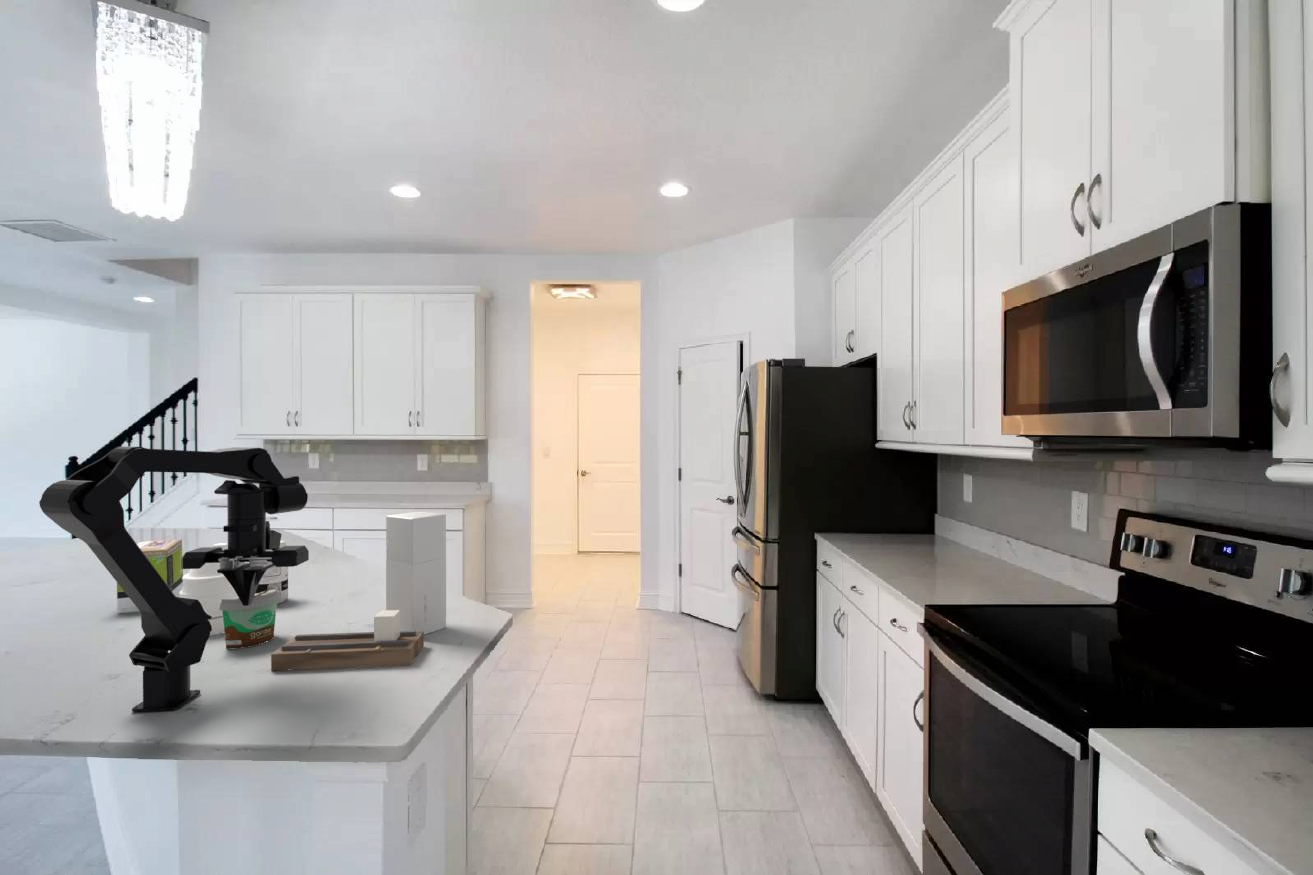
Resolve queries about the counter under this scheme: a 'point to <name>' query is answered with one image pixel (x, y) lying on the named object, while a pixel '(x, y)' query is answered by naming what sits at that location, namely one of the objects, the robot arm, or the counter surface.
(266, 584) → the supplement can
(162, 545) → the tea box
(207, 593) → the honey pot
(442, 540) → the tall white carton
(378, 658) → the slider track
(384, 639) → the slider tab
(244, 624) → the food container
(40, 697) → the counter surface
